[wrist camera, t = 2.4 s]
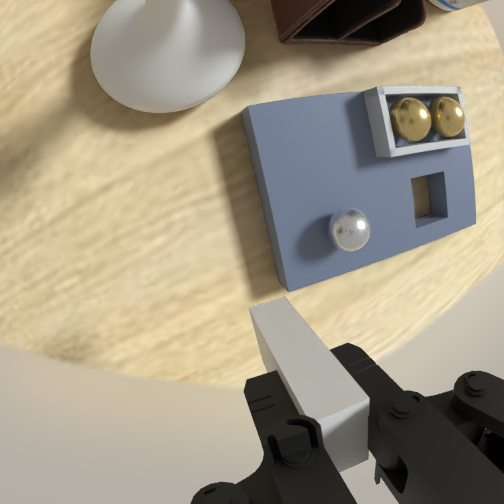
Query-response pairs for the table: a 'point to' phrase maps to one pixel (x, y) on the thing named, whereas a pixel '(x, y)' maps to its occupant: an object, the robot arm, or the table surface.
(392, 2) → the letter holder
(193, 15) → the flower in vase
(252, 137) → the deck
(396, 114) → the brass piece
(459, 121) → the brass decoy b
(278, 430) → the robot arm
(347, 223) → the steel ball
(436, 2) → the supplement tub
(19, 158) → the table surface
